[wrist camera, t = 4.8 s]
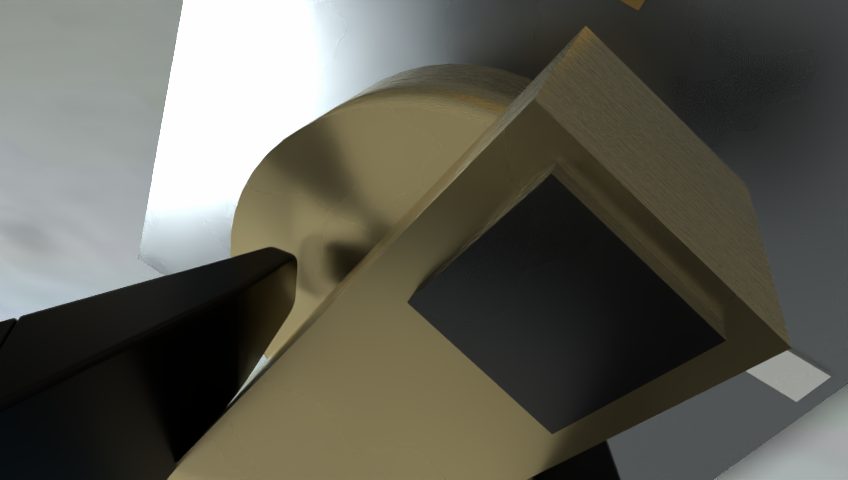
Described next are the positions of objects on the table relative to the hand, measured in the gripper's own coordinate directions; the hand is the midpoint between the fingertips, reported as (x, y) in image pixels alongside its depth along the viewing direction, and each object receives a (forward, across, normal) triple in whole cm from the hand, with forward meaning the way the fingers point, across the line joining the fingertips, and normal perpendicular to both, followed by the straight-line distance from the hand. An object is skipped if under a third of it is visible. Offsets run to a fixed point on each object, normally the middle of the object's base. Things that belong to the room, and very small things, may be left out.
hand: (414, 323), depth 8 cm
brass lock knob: (+3, 0, 0) cm, 3 cm away
